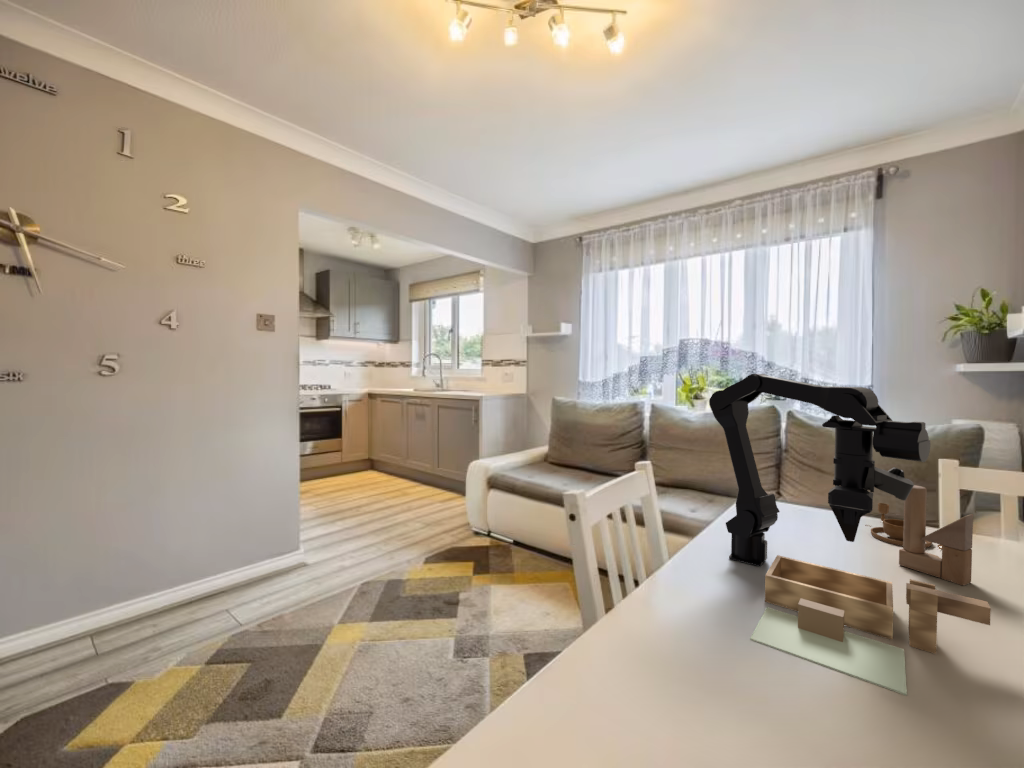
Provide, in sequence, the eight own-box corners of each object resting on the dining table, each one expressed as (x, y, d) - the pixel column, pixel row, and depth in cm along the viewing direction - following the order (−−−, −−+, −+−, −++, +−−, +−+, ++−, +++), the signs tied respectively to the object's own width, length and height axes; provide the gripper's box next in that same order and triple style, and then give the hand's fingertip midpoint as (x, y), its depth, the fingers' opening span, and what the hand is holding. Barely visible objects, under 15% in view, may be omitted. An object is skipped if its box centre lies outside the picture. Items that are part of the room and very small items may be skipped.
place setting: (849, 535, 117) (850, 513, 117) (876, 521, 128) (876, 501, 128) (939, 558, 102) (939, 533, 102) (960, 540, 114) (960, 518, 113)
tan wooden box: (764, 602, 81) (765, 554, 81) (776, 578, 91) (777, 535, 90) (936, 654, 66) (937, 595, 66) (929, 619, 76) (931, 568, 75)
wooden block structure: (963, 586, 88) (966, 497, 87) (898, 565, 97) (900, 485, 97) (972, 582, 89) (974, 495, 89) (906, 562, 99) (908, 483, 99)
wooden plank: (906, 604, 69) (907, 588, 69) (906, 597, 71) (906, 582, 71) (990, 625, 63) (990, 608, 63) (987, 618, 65) (987, 601, 65)
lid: (750, 643, 70) (750, 613, 70) (766, 611, 79) (767, 585, 79) (906, 699, 58) (907, 664, 58) (903, 654, 67) (904, 623, 67)
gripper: (913, 466, 71) (911, 562, 71) (908, 451, 85) (906, 531, 85) (828, 458, 78) (826, 544, 78) (837, 445, 92) (835, 518, 92)
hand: (851, 534), depth 83 cm, fingers open, 9 cm apart
